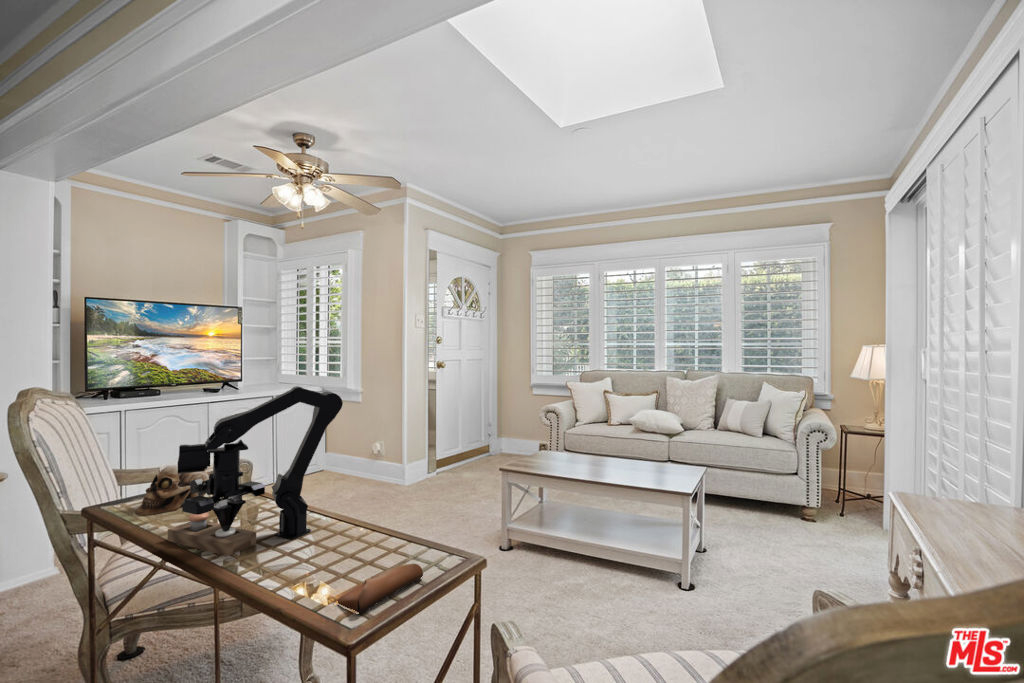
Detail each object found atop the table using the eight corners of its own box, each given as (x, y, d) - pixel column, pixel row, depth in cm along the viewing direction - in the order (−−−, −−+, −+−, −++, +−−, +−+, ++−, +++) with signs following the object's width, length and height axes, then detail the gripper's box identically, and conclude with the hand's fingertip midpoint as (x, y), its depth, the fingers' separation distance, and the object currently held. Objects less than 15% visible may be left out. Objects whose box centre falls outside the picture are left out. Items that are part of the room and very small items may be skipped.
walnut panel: (256, 544, 128) (256, 532, 128) (227, 556, 120) (227, 543, 120) (197, 530, 136) (198, 519, 136) (167, 540, 129) (167, 529, 129)
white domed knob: (239, 543, 127) (239, 529, 127) (223, 550, 123) (223, 535, 123) (227, 540, 129) (227, 526, 129) (210, 546, 125) (211, 532, 125)
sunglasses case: (394, 569, 114) (406, 547, 112) (414, 592, 111) (427, 570, 109) (329, 604, 99) (342, 579, 97) (350, 632, 96) (364, 607, 94)
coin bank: (129, 515, 147) (135, 468, 148) (161, 503, 164) (166, 461, 165) (188, 515, 149) (192, 469, 150) (213, 503, 166) (217, 461, 167)
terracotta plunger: (212, 527, 131) (212, 513, 131) (195, 533, 127) (196, 519, 127) (201, 524, 133) (201, 511, 133) (184, 530, 129) (184, 516, 129)
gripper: (237, 457, 138) (236, 514, 138) (167, 473, 121) (166, 538, 121) (266, 462, 134) (266, 521, 134) (198, 479, 117) (197, 546, 116)
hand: (225, 531), depth 126 cm, fingers closed, pressing on white domed knob
